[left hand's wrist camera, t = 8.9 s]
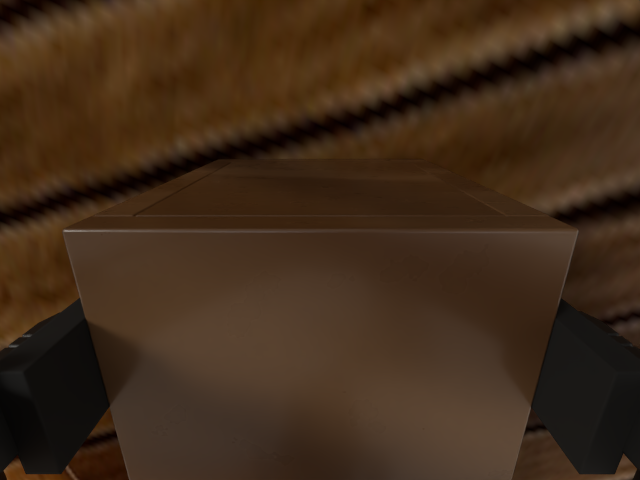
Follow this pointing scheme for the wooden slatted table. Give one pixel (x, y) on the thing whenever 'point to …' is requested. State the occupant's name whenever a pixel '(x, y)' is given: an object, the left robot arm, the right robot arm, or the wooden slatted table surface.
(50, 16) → the wooden slatted table surface
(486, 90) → the wooden slatted table surface
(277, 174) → the cabinet
